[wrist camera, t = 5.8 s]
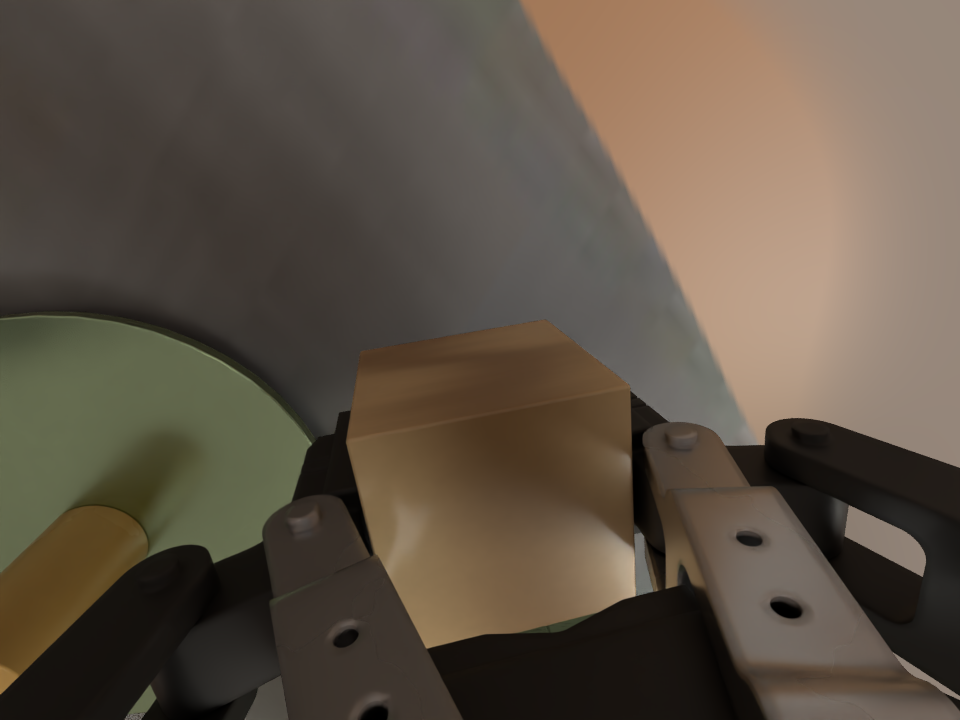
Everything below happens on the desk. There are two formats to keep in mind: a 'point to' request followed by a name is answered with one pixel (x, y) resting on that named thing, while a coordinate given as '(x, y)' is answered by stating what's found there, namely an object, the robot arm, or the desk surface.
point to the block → (495, 479)
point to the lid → (123, 464)
